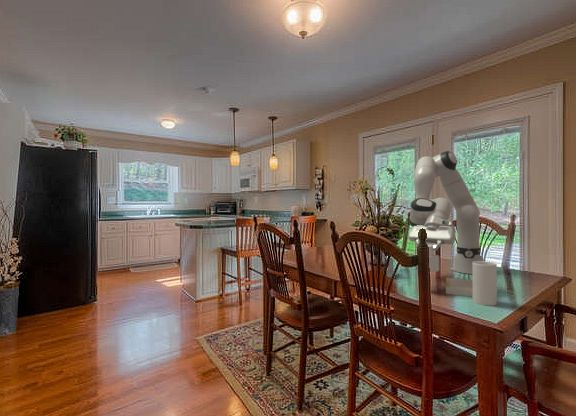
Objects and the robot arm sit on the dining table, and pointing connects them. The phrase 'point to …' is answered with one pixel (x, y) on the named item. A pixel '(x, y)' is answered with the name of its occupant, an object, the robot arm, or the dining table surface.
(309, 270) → the dining table surface
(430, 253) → the medicine bottle
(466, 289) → the dock
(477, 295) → the cup
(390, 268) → the candy bar box
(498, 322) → the dining table surface
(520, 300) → the dining table surface
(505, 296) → the dining table surface
